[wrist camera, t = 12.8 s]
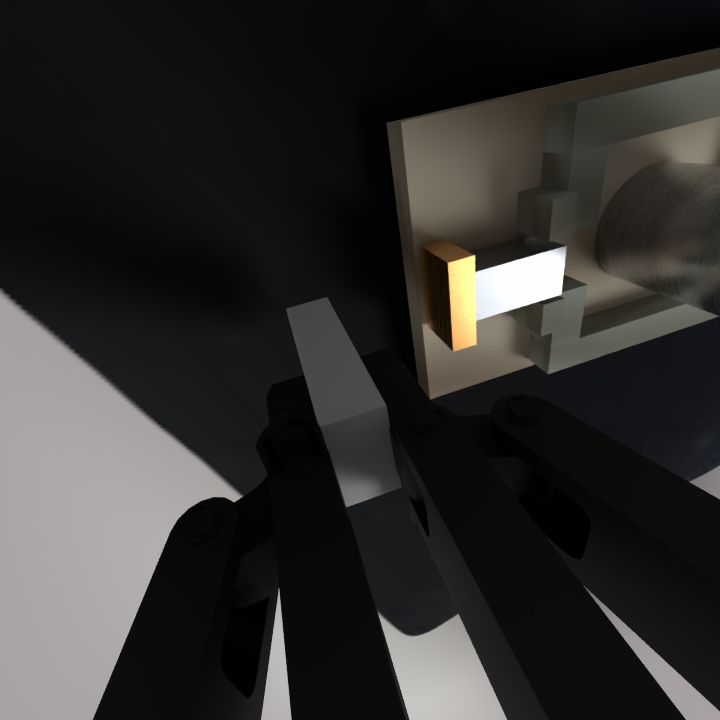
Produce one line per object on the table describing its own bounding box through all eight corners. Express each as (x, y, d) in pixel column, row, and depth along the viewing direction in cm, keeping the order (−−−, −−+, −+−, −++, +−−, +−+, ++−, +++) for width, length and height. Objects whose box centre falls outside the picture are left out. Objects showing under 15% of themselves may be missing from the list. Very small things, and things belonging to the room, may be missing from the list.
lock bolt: (419, 245, 15) (448, 262, 13) (533, 214, 16) (577, 226, 14) (427, 326, 17) (453, 351, 15) (528, 295, 17) (566, 315, 15)
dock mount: (386, 122, 14) (425, 119, 11) (755, 39, 16) (869, 18, 13) (418, 383, 20) (448, 424, 17) (677, 298, 23) (742, 323, 20)
